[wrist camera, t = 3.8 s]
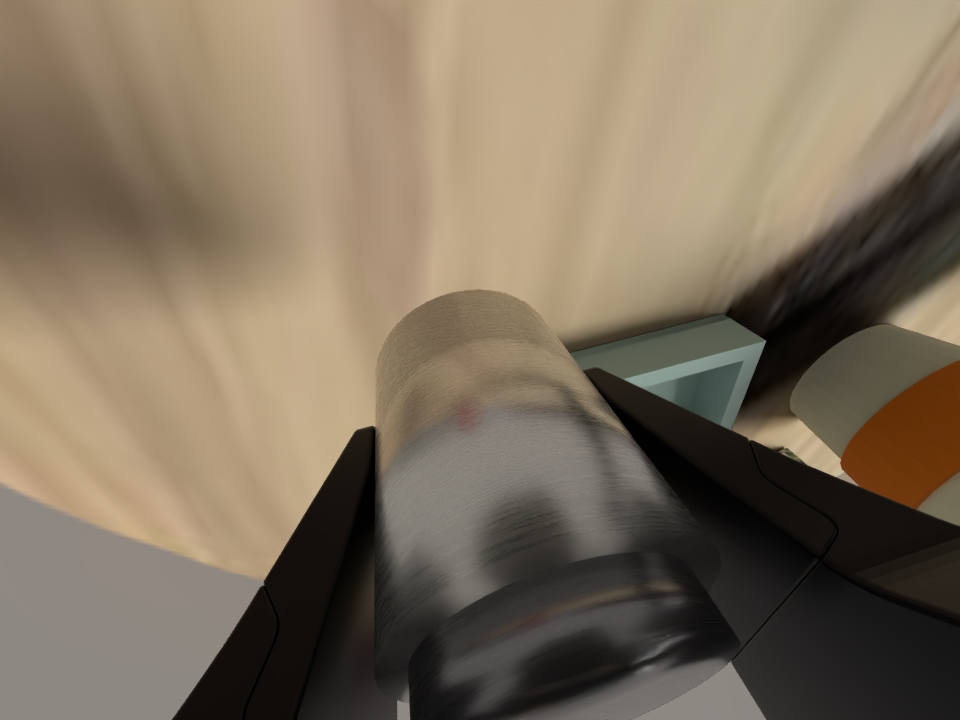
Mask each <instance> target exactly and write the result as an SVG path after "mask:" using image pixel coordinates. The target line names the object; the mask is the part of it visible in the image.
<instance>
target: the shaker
mask: <svg viewBox="0 0 960 720" xmlns="http://www.w3.org/2000/svg"><path fill="white" fill-rule="evenodd" d="M721 564H722V561H721V555H720V553H719V551H718V549H717V548H716V546H715V545H714V544H713V542H712V541H711V540H710V538H709V537H708V536H707V534H706V533H705V532H704V530H703V529H702V528H701V526H700V525H699V524H698V522H697V521H696V520H695V518H694V517H693V516H692V514H691V513H690V512H689V511H688V509H687V508H686V507H685V505H684V504H683V503H682V501H681V500H680V499H679V497H678V496H677V495H676V493H675V492H674V491H673V489H672V488H671V487H670V485H669V484H668V483H667V481H666V480H665V479H664V478H663V476H662V475H661V474H660V472H659V471H658V470H657V468H656V467H655V466H654V464H653V463H652V462H651V460H650V459H649V458H648V456H647V455H646V454H645V452H644V451H643V450H642V448H641V447H640V446H639V444H638V443H637V442H636V441H635V439H634V438H633V437H632V435H631V434H630V433H629V431H628V430H627V429H626V427H625V426H624V425H623V423H622V422H621V421H620V419H619V418H618V417H617V415H616V414H615V413H614V411H613V410H612V409H611V407H610V406H609V405H608V404H607V402H606V401H605V400H604V398H603V397H602V396H601V394H600V393H599V392H598V390H597V389H596V388H595V386H594V385H593V384H592V382H591V381H590V380H589V378H588V377H587V376H586V374H585V373H584V372H583V371H582V369H581V368H580V367H579V365H578V364H577V363H576V361H575V360H574V359H573V357H572V356H571V355H570V353H569V352H568V351H567V349H566V348H565V347H564V345H563V344H562V343H561V341H560V340H559V339H558V337H557V336H556V335H555V334H554V332H553V331H552V330H551V328H550V327H549V326H548V324H547V323H546V322H545V320H544V319H543V318H542V316H541V315H540V314H539V313H538V312H537V311H536V310H535V309H534V308H532V307H531V306H530V305H528V304H527V303H526V302H524V301H522V300H520V299H518V298H516V297H514V296H511V295H508V294H505V293H501V292H496V291H491V290H465V291H459V292H453V293H450V294H446V295H443V296H440V297H437V298H435V299H433V300H430V301H428V302H426V303H424V304H423V305H421V306H419V307H417V308H416V309H414V310H413V311H412V312H410V313H409V314H408V315H407V316H405V317H404V318H403V319H402V320H401V321H400V322H399V323H398V324H397V325H396V326H395V327H394V329H393V330H392V331H391V333H390V334H389V335H388V337H387V338H386V340H385V342H384V344H383V346H382V348H381V351H380V353H379V356H378V360H377V365H376V426H375V583H374V679H375V682H376V685H377V686H378V688H379V689H380V690H381V691H382V692H383V693H384V694H386V695H387V696H389V697H391V698H393V699H396V700H399V701H401V702H406V703H410V720H632V719H634V718H637V717H639V716H641V715H643V714H645V713H647V712H649V711H652V710H654V709H656V708H658V707H660V706H662V705H664V704H665V703H668V702H670V701H671V700H673V699H675V698H677V697H679V696H681V695H683V694H684V693H686V692H688V691H689V690H691V689H693V688H695V687H696V686H698V685H700V684H701V683H703V682H704V681H706V680H707V679H709V678H710V677H712V676H713V675H714V674H716V673H717V672H719V671H720V670H721V669H722V668H724V667H725V666H726V665H727V664H728V663H729V662H730V661H731V660H732V659H733V658H734V657H735V656H736V654H737V653H738V652H739V649H740V647H741V643H740V640H739V638H738V637H737V635H736V634H735V632H734V631H733V629H732V628H731V626H730V625H729V624H728V622H727V621H726V619H725V618H724V616H723V615H722V613H721V612H720V610H719V609H718V607H717V606H716V604H715V603H714V601H713V600H712V598H711V597H710V595H709V594H708V592H709V591H710V589H711V588H712V586H713V585H714V583H715V582H716V580H717V578H718V575H719V573H720V569H721Z"/></svg>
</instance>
